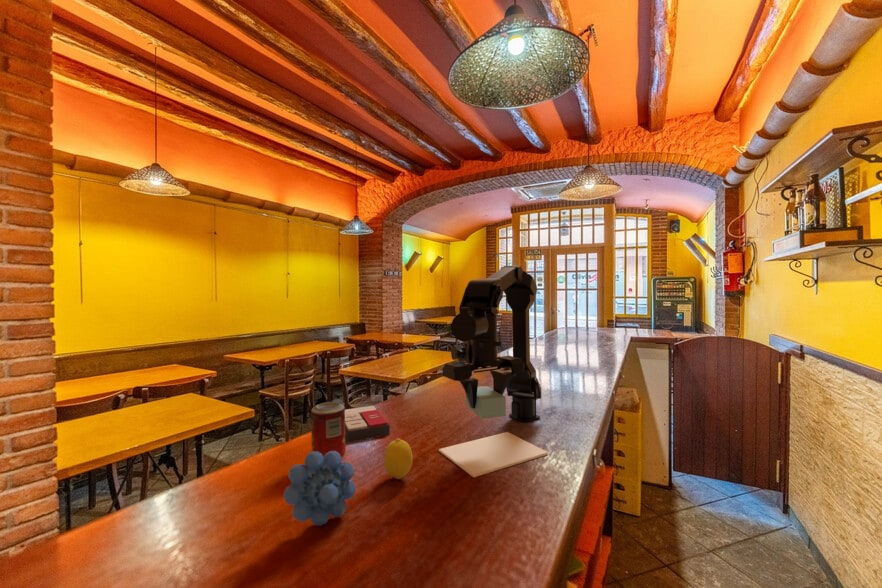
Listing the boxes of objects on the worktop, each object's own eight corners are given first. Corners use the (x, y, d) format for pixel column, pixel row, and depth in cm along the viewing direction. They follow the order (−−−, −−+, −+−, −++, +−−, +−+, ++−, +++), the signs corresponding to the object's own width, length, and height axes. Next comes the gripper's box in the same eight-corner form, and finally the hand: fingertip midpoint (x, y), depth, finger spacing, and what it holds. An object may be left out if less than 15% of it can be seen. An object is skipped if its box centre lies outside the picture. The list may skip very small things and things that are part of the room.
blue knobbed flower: (294, 555, 53) (292, 470, 53) (279, 532, 59) (277, 454, 58) (368, 522, 61) (367, 447, 61) (348, 504, 66) (347, 435, 66)
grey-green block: (505, 416, 81) (505, 397, 81) (481, 418, 79) (481, 399, 79) (487, 402, 90) (487, 385, 90) (465, 404, 89) (465, 387, 89)
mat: (507, 433, 97) (507, 431, 97) (547, 454, 85) (547, 452, 85) (438, 451, 87) (438, 449, 87) (473, 477, 75) (473, 474, 75)
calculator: (346, 429, 93) (336, 408, 106) (347, 446, 93) (336, 423, 106) (390, 421, 97) (374, 403, 111) (390, 438, 98) (374, 417, 111)
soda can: (352, 459, 83) (351, 404, 83) (323, 472, 78) (322, 412, 77) (333, 451, 88) (332, 398, 87) (305, 462, 82) (304, 406, 82)
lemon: (417, 474, 76) (416, 435, 76) (405, 488, 71) (405, 445, 71) (392, 470, 78) (391, 431, 78) (379, 483, 73) (378, 442, 73)
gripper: (495, 330, 96) (495, 391, 96) (430, 335, 87) (430, 403, 87) (525, 334, 86) (525, 402, 87) (455, 340, 77) (456, 417, 77)
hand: (484, 405), depth 85 cm, fingers closed on grey-green block, 6 cm apart
